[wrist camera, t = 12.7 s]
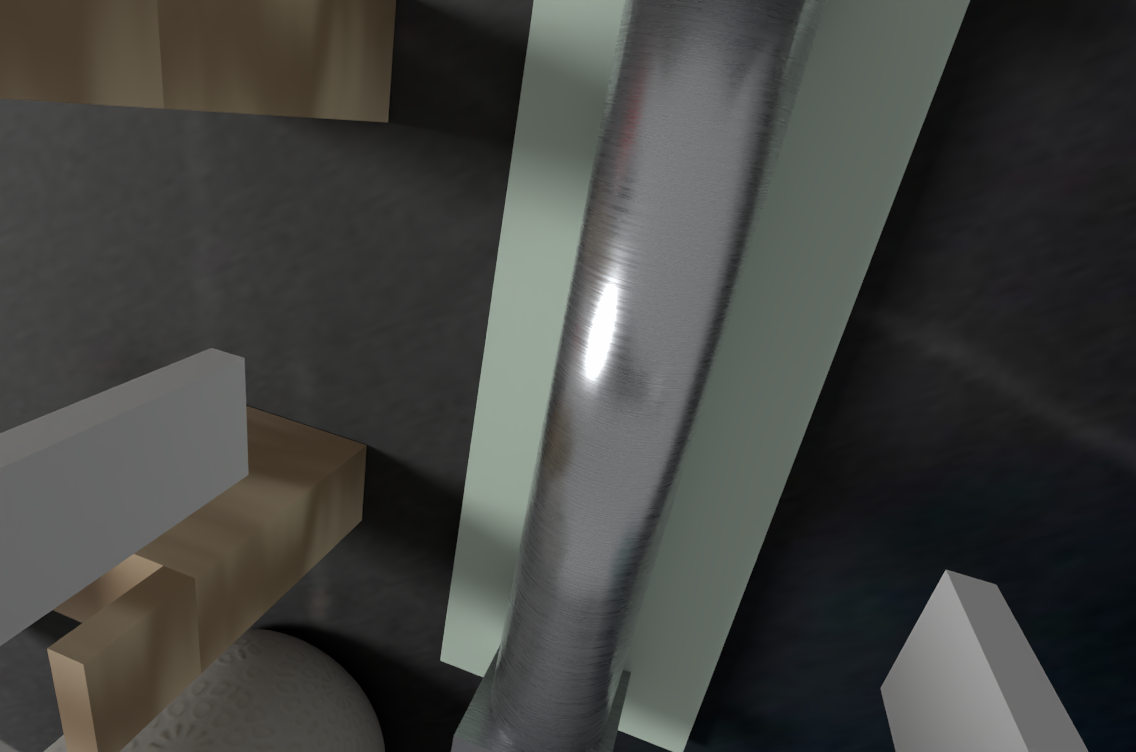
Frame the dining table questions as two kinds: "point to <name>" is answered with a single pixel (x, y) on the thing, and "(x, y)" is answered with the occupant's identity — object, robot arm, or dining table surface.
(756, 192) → the rail
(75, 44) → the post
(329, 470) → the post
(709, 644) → the board
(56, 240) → the dining table surface
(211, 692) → the planter
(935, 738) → the robot arm
